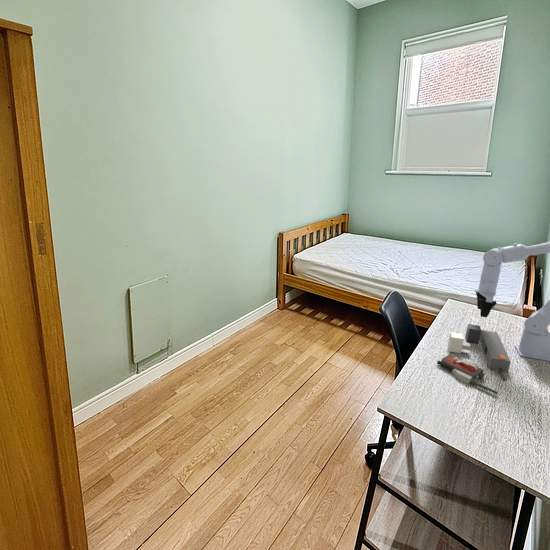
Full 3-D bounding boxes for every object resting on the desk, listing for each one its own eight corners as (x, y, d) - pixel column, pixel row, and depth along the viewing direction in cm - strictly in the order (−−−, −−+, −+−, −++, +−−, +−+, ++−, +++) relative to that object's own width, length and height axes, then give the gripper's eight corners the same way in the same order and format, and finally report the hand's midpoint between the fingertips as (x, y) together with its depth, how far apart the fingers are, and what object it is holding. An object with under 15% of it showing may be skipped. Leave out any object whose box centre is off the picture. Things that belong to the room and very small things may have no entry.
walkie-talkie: (432, 367, 121) (494, 399, 105) (434, 356, 119) (498, 386, 104) (446, 359, 126) (508, 388, 110) (448, 348, 124) (511, 376, 109)
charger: (467, 349, 132) (470, 335, 130) (469, 355, 128) (472, 340, 126) (447, 345, 134) (450, 331, 132) (448, 351, 130) (451, 337, 128)
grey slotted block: (495, 341, 138) (498, 327, 136) (512, 382, 113) (516, 365, 111) (465, 336, 141) (467, 323, 139) (475, 375, 116) (478, 358, 114)
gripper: (474, 273, 143) (468, 304, 147) (480, 284, 130) (473, 318, 134) (494, 275, 140) (487, 307, 144) (502, 287, 127) (494, 321, 132)
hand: (482, 312), depth 139 cm, fingers open, 7 cm apart
